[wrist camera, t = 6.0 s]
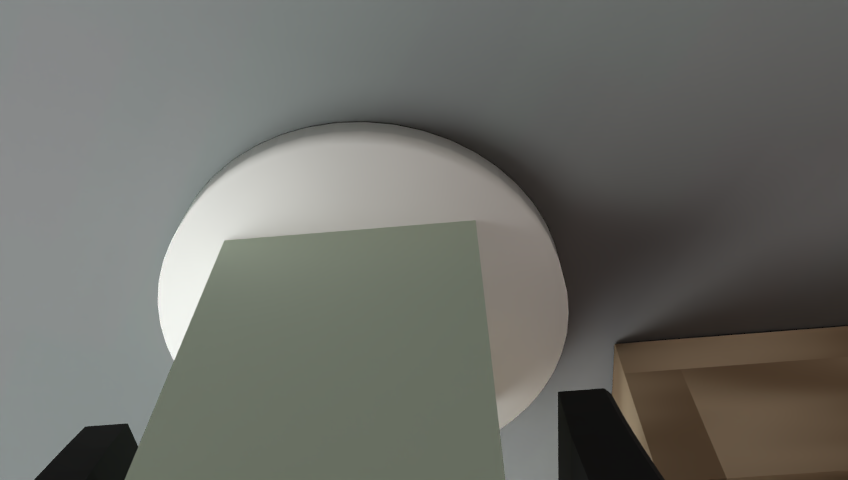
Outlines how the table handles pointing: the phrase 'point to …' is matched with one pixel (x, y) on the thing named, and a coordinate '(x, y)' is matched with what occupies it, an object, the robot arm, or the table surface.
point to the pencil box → (739, 404)
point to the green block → (333, 363)
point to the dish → (378, 208)
